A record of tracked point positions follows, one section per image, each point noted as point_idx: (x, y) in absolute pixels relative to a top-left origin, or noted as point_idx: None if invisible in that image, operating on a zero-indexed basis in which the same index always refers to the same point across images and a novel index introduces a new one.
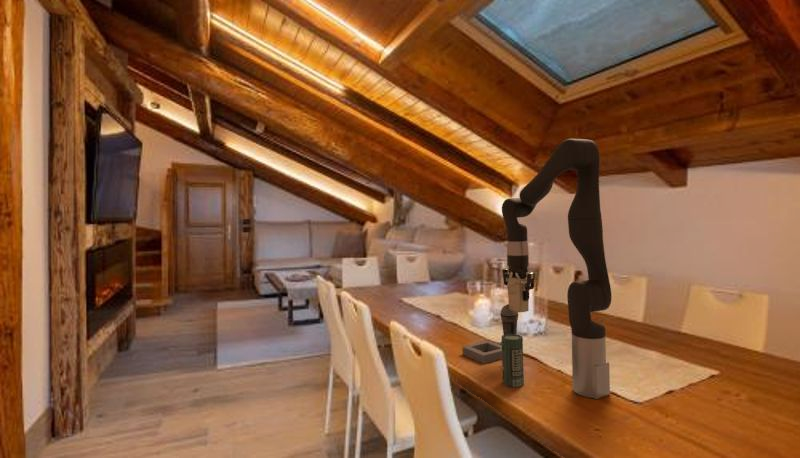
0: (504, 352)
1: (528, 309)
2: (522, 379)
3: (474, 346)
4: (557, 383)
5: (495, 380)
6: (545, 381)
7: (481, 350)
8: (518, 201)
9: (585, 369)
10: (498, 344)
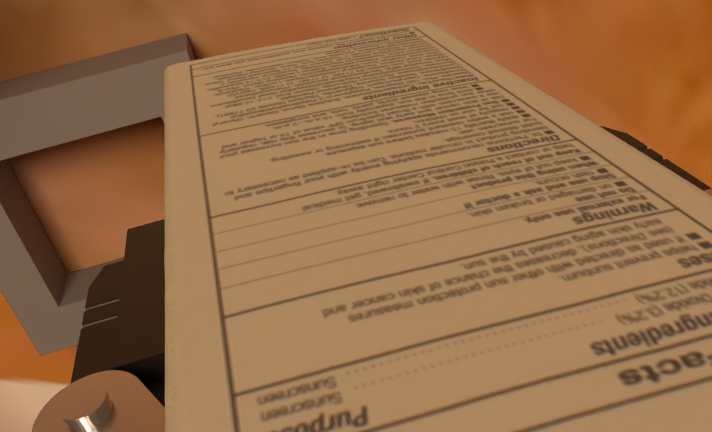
0: None
1: (444, 31)
2: None
3: (44, 278)
4: (686, 6)
5: None
6: (632, 54)
7: (21, 198)
8: None
9: None
10: (52, 96)
